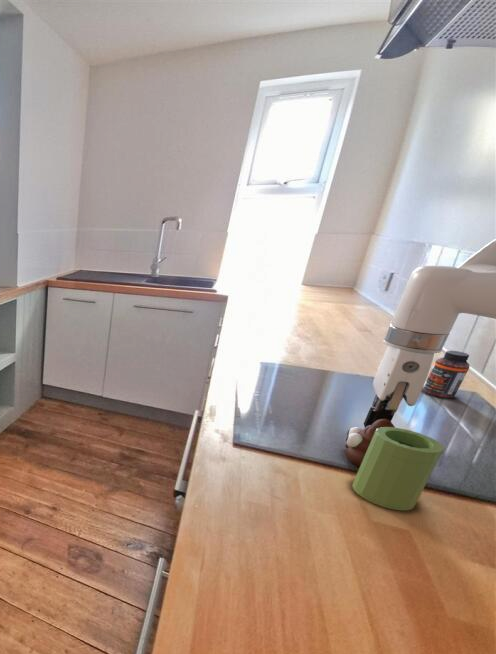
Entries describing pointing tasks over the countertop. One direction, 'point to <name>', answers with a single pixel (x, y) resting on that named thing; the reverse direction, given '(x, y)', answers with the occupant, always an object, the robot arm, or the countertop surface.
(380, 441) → the green pipe section
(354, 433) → the poop emoji
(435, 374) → the supplement bottle
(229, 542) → the countertop surface
